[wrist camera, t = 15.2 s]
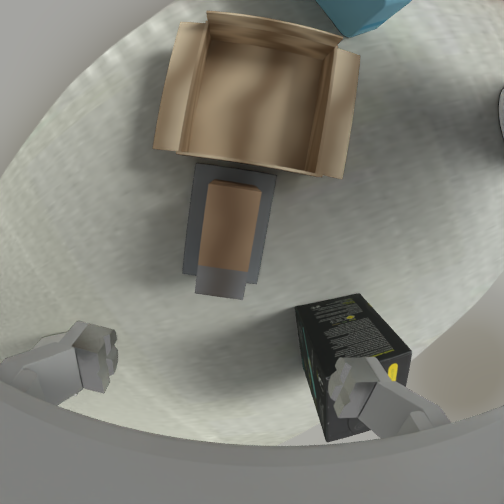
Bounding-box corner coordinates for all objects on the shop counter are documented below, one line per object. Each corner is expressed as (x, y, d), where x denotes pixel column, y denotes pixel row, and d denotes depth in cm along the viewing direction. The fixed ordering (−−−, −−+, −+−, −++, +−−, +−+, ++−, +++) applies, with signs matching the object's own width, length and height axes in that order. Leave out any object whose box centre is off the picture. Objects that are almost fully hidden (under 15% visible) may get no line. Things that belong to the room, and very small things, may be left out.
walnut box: (255, 185, 32) (261, 192, 25) (240, 269, 35) (243, 299, 27) (214, 178, 32) (208, 183, 24) (202, 264, 35) (194, 293, 27)
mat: (276, 175, 33) (276, 175, 32) (256, 282, 36) (256, 284, 36) (196, 163, 32) (196, 163, 31) (182, 272, 35) (182, 273, 35)
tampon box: (360, 353, 41) (400, 421, 27) (301, 368, 41) (326, 445, 27) (361, 289, 37) (416, 351, 23) (294, 304, 37) (324, 379, 23)
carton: (344, 65, 29) (370, 46, 22) (326, 179, 33) (351, 184, 26) (187, 37, 27) (177, 9, 20) (163, 153, 31) (144, 151, 24)
